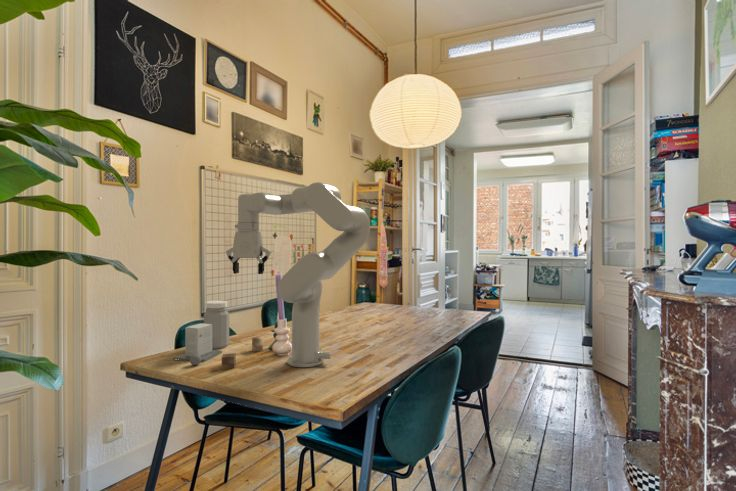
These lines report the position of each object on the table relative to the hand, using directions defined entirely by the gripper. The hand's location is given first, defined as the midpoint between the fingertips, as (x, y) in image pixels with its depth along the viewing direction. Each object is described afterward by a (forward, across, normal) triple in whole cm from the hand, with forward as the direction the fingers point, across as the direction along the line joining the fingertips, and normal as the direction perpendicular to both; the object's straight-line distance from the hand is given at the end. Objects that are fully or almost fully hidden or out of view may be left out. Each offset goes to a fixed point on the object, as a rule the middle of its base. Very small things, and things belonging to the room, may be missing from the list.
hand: (248, 273), depth 152 cm
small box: (+30, -17, -5) cm, 34 cm away
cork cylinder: (+30, +1, +6) cm, 31 cm away
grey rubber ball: (+30, -12, -15) cm, 36 cm away
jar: (+31, -18, +9) cm, 36 cm away
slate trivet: (+30, -17, -5) cm, 35 cm away
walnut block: (+30, 0, -15) cm, 34 cm away
